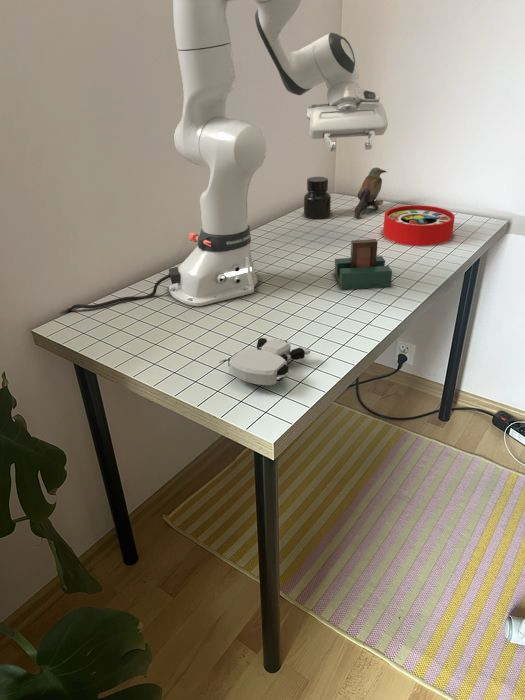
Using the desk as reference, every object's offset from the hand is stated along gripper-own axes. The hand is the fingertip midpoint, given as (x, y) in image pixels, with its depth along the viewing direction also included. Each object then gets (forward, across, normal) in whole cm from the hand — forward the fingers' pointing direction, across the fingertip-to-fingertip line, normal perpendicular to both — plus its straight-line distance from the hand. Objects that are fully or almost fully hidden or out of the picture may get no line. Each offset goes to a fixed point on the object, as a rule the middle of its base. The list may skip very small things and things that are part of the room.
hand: (350, 149), depth 142 cm
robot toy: (+62, -27, -23) cm, 71 cm away
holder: (+35, 0, +4) cm, 35 cm away
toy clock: (+13, +23, +26) cm, 37 cm away
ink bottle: (-4, -4, +43) cm, 44 cm away
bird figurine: (-6, +15, +44) cm, 47 cm away
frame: (+34, 0, +3) cm, 34 cm away
